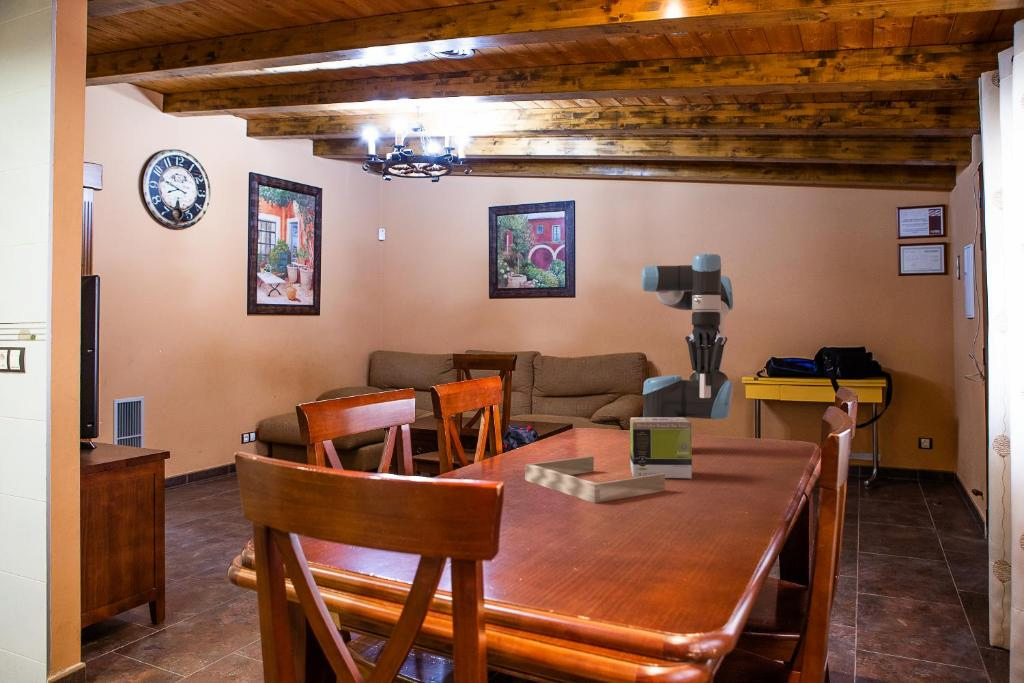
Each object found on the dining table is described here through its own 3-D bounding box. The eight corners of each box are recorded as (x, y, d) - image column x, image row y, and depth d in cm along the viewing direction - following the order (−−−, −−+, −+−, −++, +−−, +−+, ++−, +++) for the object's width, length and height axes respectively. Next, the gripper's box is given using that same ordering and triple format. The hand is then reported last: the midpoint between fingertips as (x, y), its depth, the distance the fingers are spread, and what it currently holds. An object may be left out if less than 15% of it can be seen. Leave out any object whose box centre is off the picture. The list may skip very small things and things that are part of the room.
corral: (524, 480, 180) (525, 464, 179) (591, 470, 191) (591, 455, 191) (594, 503, 157) (594, 484, 157) (664, 490, 169) (664, 473, 169)
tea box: (686, 471, 191) (686, 416, 191) (692, 480, 181) (692, 421, 181) (629, 470, 193) (629, 415, 192) (632, 478, 183) (632, 420, 182)
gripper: (678, 311, 198) (677, 396, 199) (715, 310, 188) (714, 400, 188) (697, 311, 203) (696, 394, 203) (734, 311, 192) (733, 398, 192)
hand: (705, 397), depth 196 cm, fingers closed
